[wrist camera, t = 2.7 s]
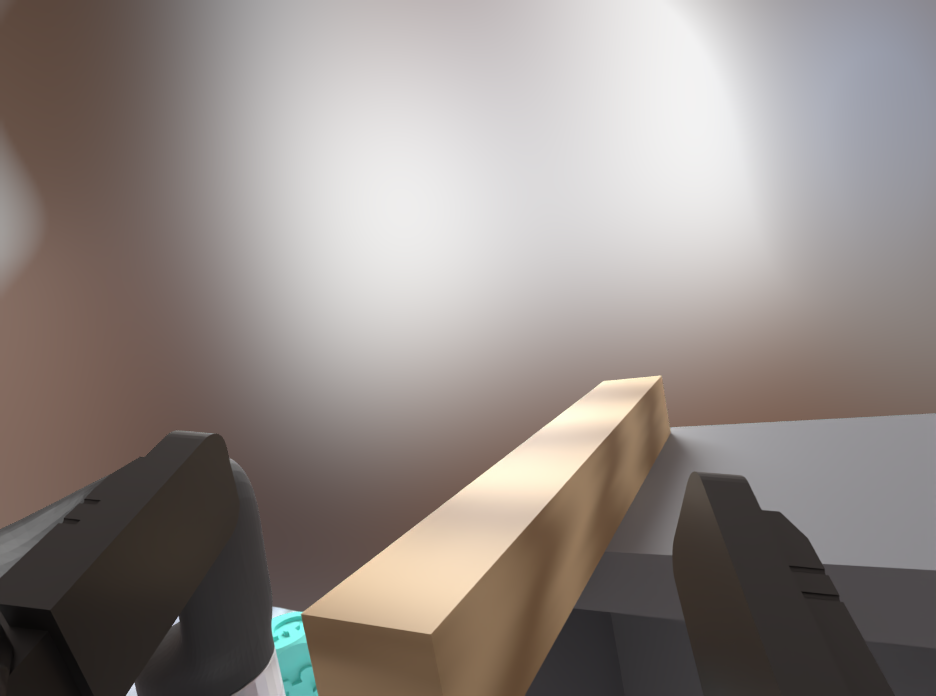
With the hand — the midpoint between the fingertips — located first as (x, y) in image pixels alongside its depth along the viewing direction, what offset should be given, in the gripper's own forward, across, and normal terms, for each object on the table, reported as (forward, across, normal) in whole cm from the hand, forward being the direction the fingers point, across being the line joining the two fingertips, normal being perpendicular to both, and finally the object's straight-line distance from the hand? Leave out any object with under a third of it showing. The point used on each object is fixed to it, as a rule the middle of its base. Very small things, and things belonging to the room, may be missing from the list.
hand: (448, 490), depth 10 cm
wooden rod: (+8, +3, -8) cm, 11 cm away
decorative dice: (+28, -23, -59) cm, 69 cm away
